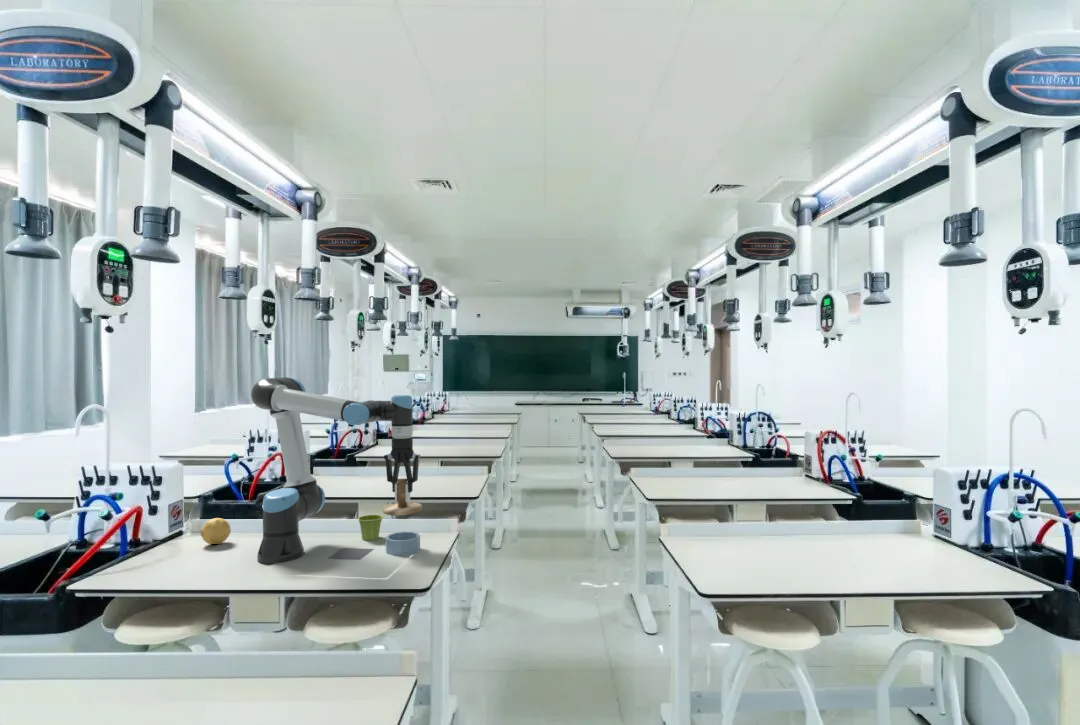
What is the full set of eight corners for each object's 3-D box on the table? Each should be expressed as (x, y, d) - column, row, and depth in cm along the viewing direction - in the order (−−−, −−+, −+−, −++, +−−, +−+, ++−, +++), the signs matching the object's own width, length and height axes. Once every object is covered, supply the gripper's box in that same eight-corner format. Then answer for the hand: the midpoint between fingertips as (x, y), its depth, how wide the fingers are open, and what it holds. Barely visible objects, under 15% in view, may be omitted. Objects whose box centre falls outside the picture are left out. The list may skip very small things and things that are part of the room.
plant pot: (364, 535, 232) (364, 514, 232) (386, 536, 230) (386, 514, 231) (353, 542, 222) (353, 520, 223) (376, 543, 221) (376, 520, 221)
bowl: (380, 555, 206) (380, 540, 206) (393, 545, 218) (393, 531, 218) (413, 557, 205) (413, 541, 205) (423, 546, 217) (423, 532, 217)
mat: (327, 559, 202) (327, 558, 202) (343, 549, 214) (343, 547, 214) (360, 561, 201) (360, 559, 201) (374, 550, 213) (374, 548, 213)
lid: (376, 514, 205) (376, 482, 206) (391, 505, 219) (391, 475, 219) (414, 515, 204) (414, 483, 204) (427, 506, 218) (426, 476, 218)
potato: (210, 543, 225) (190, 532, 219) (228, 521, 230) (209, 509, 223) (222, 552, 220) (202, 541, 213) (240, 529, 224) (221, 517, 217)
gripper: (376, 438, 209) (377, 503, 209) (420, 438, 207) (420, 503, 207) (384, 435, 217) (385, 498, 216) (427, 436, 215) (427, 499, 214)
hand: (402, 500), depth 212 cm, fingers closed on lid, 3 cm apart
